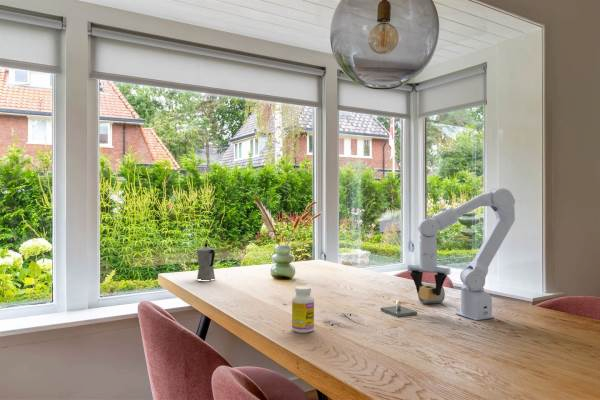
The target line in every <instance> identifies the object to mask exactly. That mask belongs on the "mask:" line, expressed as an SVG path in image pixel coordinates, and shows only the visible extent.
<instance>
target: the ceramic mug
mask: <svg viewBox="0 0 600 400" xmlns="http://www.w3.org/2000/svg"><path fill="white" fill-rule="evenodd" d="M427 285H430V286H434V287H436V283H427V282H422V286H427ZM445 293H446V291H445V288H444V287H443V285H442V289H441V293H440V295H439V299H438V300H430V301H427V300H424V299H421V298H419V293H417V298H418V301H419V303H420V304H422V305H423V304H441V303H443V301H444V300H445V296H446V294H445Z"/></svg>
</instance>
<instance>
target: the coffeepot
mask: <svg viewBox="0 0 600 400" xmlns="http://www.w3.org/2000/svg"><path fill="white" fill-rule="evenodd" d="M196 253H197V260H198V270H197V271H198V272H197V276H196V280H197V279H201V280H211V279H215V280H216V277H215V270H214V262H215V255H216V249H215V248H213V247H209V246H208V243H204V247H201V248H198V249H197V248H196Z"/></svg>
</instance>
